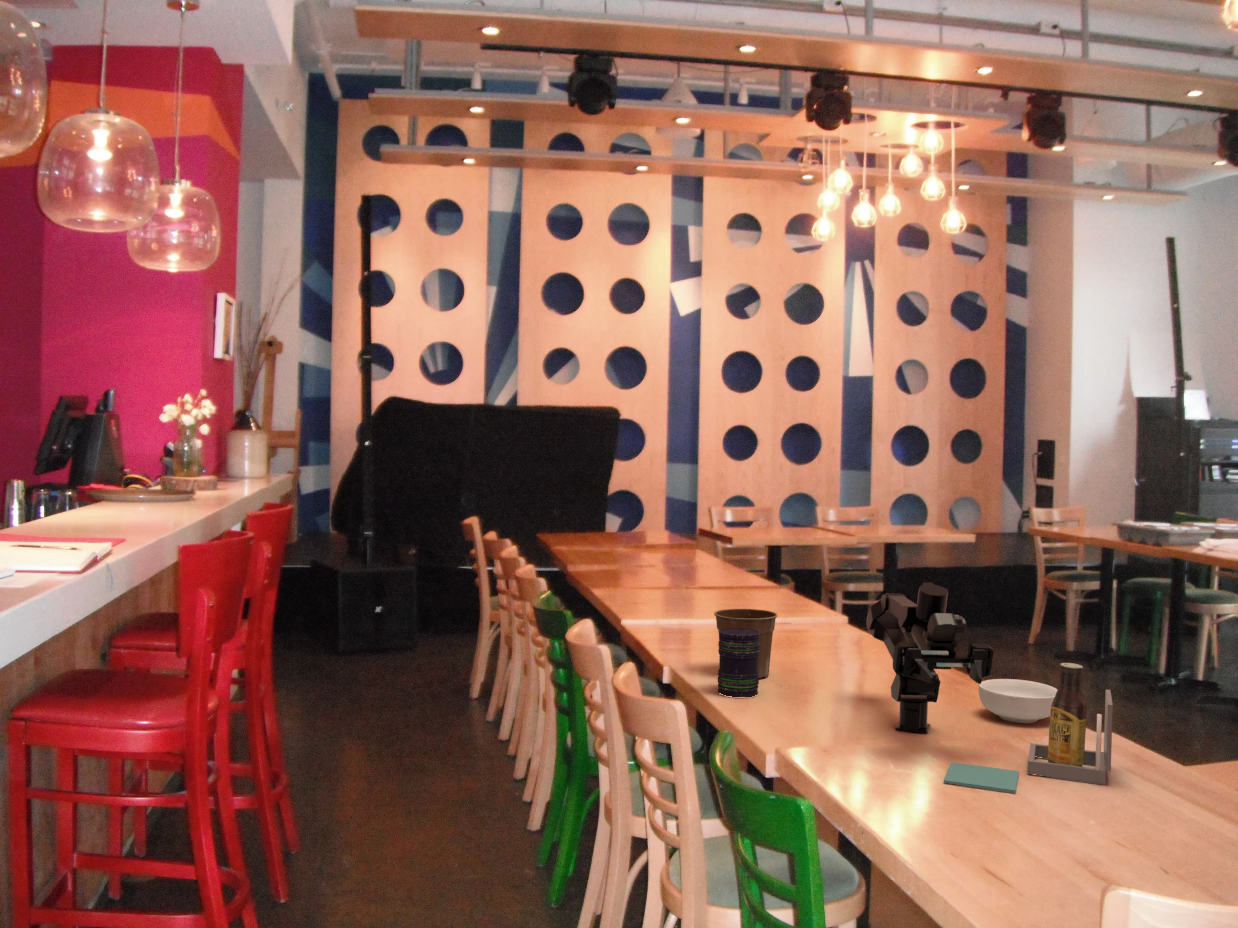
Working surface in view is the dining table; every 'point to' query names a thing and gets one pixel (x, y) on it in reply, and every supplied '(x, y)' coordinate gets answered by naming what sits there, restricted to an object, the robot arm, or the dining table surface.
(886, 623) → the robot arm
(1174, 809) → the dining table surface
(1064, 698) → the sauce bottle
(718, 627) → the plant pot
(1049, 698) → the cereal bowl
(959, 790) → the dining table surface
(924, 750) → the dining table surface
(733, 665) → the storage jar
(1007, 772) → the rubber pad
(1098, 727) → the open lid tray
